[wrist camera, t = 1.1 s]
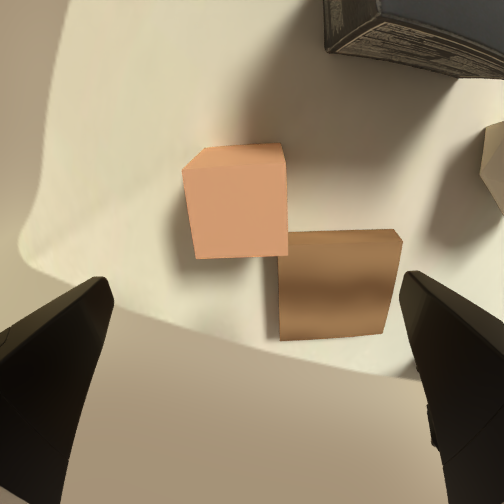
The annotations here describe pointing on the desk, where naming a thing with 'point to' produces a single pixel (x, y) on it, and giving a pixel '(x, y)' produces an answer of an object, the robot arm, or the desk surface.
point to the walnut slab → (337, 283)
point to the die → (494, 162)
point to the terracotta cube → (238, 201)
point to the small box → (421, 34)
